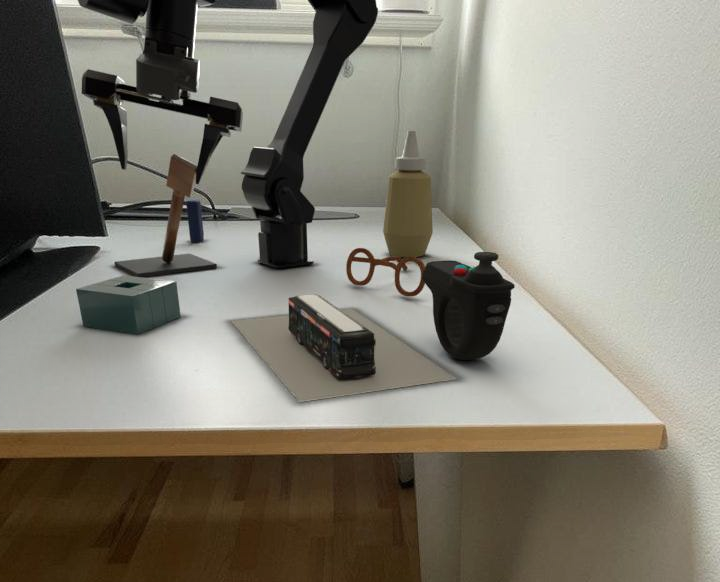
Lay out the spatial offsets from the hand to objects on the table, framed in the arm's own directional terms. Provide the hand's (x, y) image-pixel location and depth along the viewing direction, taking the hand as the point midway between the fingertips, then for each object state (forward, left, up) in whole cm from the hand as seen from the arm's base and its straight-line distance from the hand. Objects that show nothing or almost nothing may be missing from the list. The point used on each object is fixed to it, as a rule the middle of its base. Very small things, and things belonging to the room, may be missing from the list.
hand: (161, 177), depth 85 cm
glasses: (-25, +21, -13) cm, 36 cm away
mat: (-2, -9, -13) cm, 16 cm away
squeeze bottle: (-38, +4, -13) cm, 41 cm away
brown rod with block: (-2, -9, -12) cm, 15 cm away
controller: (-10, +46, -13) cm, 49 cm away
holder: (+12, +17, -13) cm, 25 cm away
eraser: (-15, -27, -13) cm, 33 cm away
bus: (-1, +37, -13) cm, 40 cm away
